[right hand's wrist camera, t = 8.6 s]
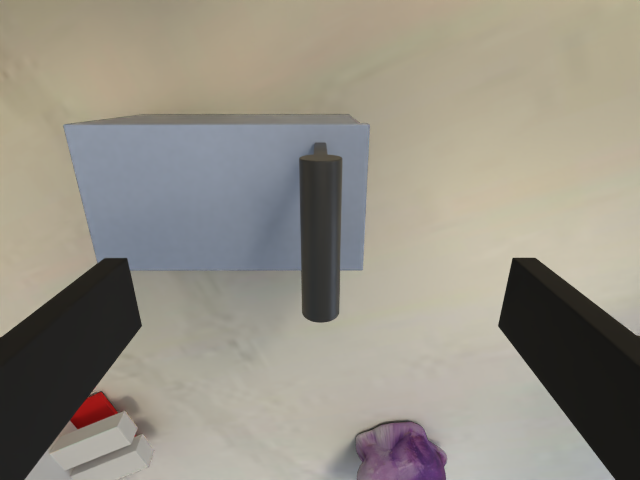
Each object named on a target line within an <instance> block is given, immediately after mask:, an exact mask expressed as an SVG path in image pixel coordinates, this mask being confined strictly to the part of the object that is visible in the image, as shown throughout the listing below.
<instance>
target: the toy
mask: <svg viewBox="0 0 640 480" xmlns="http://www.w3.org/2000/svg"><path fill="white" fill-rule="evenodd" d="M137 429H138V427H137V426H136V425H135V423H134V422H133V421H132V419H131V418H130V417H129V415H128V414H127V413H126V411H123V412H120V413H118V412H117V411H116V410H115V408H114V407H113V406H112V405H111V403H110V402H109V401H108V400H107V398H106V397H105V396H104V395H103V393H102V392H100V393H97V394H95V395H93V396H91V397H88V398H87V399H86V400H85V401H84V402H83V404H82V405H81V406H80V408H79V409H78V410H77V412H76V413H75V414H74V416H73V417H72V418H71V420H70V421H69V422H68V423H67V425H66V426H65V427H64V429H63V430H62V431H61V433H60V434H59V435H58V437H57V438H56V439H55V441H54V442H53V443H52V444H51V446H50V447H49V448H48V450H47V451H46V452H45V454H44V455H43V456H42V458H41V459H40V460H39V461H38V463H37V464H36V465H35V467H34V468H33V469H32V471H31V472H30V473H29V475H28V476H27V477H26V479H25V480H118V479H120V478H123V477H125V476H128V475H130V474H133V473H135V472H138V471H140V470H143V469H145V468H148V467H149V465H150V462H151V459H152V456H153V453H154V449H153V447H152V446H151V445H150V443H149V442H148V441H147V439H146V438H145V437H144V435H143V434H141V435H138V436H136V431H137Z"/></svg>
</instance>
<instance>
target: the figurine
mask: <svg viewBox="0 0 640 480" xmlns="http://www.w3.org/2000/svg"><path fill="white" fill-rule="evenodd" d="M356 451H357V454H358V456H359V458H360V459H361V461H362V462H363V463H362V464H361V465H360V468H359V470H358V473H357V480H446V475H445V470H444V466H445V464H446V463H447V455H446V453H445V452H444V451H443V450H442V449H441V448H439V447H438V446H436V445H435V444H433V443H431V442H430V441H428V440H427V436H426V433H425V431H424V429H423V428H422V427H421V426H420V425H418V424H416V423H414V422H400V423H389V424H384V425H383V424H382V425H381V426H378V427H376V428H374V429H373V430H370V431H366V432H363V433H361V434H359V435H357V437H356Z"/></svg>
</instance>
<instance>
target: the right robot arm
mask: <svg viewBox="0 0 640 480" xmlns="http://www.w3.org/2000/svg"><path fill="white" fill-rule="evenodd" d="M141 326H142V324H141V320H140V315H139V310H138V306H137V301H136V296H135V292H134V287H133V282H132V278H131V273H130V268H129V264H128V259H127V258H104V259H103V260H101V261H100V262H99V263H97V264H96V265H95V266H94V267H92V268H91V269H90V270H88V271H87V272H86V273H84V274H83V275H82V276H81V277H79V278H78V279H77V280H75V281H74V282H73V283H71V284H70V285H69V286H68V287H66V288H65V289H64V290H62V291H61V292H60V293H58V294H57V295H56V296H55V297H53V298H52V299H51V300H49V301H48V302H47V303H45V304H44V305H43V306H41V307H40V308H39V309H38V310H36V311H35V312H34V313H32V314H31V315H30V316H28V317H27V318H26V319H25V320H23V321H22V322H21V323H19V324H18V325H17V326H15V327H14V328H13V329H12V330H10V331H9V332H8V333H6V334H5V335H4V336H2V337H0V480H25V479H26V477H27V476H28V475H29V473H30V472H31V471H32V469H33V468H34V467H35V465H36V464H37V463H38V461H39V460H40V459H41V458H42V456H43V455H44V454H45V452H46V451H47V450H48V448H49V447H50V446H51V444H52V443H53V442H54V441H55V439H56V438H57V437H58V435H59V434H60V433H61V431H62V430H63V429H64V427H65V426H66V425H67V423H68V422H69V421H70V420H71V418H72V417H73V416H74V414H75V413H76V412H77V410H78V409H79V408H80V406H81V405H82V404H83V402H84V401H85V400H86V399H87V397H88V396H89V395H90V393H91V392H92V391H93V389H94V388H95V387H96V385H97V384H98V383H99V382H100V380H101V379H102V378H103V376H104V375H105V374H106V372H107V371H108V370H109V368H110V367H111V366H112V364H113V363H114V362H115V361H116V359H117V358H118V357H119V355H120V354H121V353H122V351H123V350H124V349H125V347H126V346H127V345H128V343H129V342H130V341H131V340H132V338H133V337H134V336H135V334H136V333H137V332H138V330H139V329H140V328H141ZM498 326H499V328H500V329H501V330H502V332H503V333H504V334H505V336H506V337H507V338H508V340H509V341H510V342H511V343H512V345H513V346H514V347H515V349H516V350H517V351H518V353H519V354H520V355H521V357H522V358H523V359H524V361H525V362H526V363H527V364H528V366H529V367H530V368H531V370H532V371H533V372H534V374H535V375H536V376H537V378H538V379H539V380H540V382H541V383H542V384H543V385H544V387H545V388H546V389H547V391H548V392H549V393H550V395H551V396H552V397H553V399H554V400H555V401H556V402H557V404H558V405H559V406H560V408H561V409H562V410H563V412H564V413H565V414H566V416H567V417H568V418H569V420H570V421H571V422H572V423H573V425H574V426H575V427H576V429H577V430H578V431H579V433H580V434H581V435H582V437H583V438H584V439H585V441H586V442H587V443H588V444H589V446H590V447H591V448H592V450H593V451H594V452H595V454H596V455H597V456H598V458H599V459H600V460H601V461H602V463H603V464H604V465H605V467H606V468H607V469H608V471H609V472H610V473H611V475H612V476H613V477H614V479H615V480H640V336H636V335H635V334H634V333H632V332H631V331H630V330H628V329H627V328H626V327H625V326H623V325H622V324H621V323H619V322H618V321H617V320H615V319H614V318H613V317H612V316H610V315H609V314H608V313H606V312H605V311H604V310H602V309H601V308H600V307H598V306H597V305H596V304H595V303H593V302H592V301H591V300H589V299H588V298H587V297H585V296H584V295H583V294H582V293H580V292H579V291H578V290H576V289H575V288H574V287H572V286H571V285H570V284H569V283H567V282H566V281H565V280H563V279H562V278H561V277H559V276H558V275H557V274H556V273H554V272H553V271H552V270H550V269H549V268H548V267H546V266H545V265H544V264H543V263H541V262H540V261H539V260H537V259H536V258H513V259H512V264H511V268H510V273H509V278H508V282H507V287H506V292H505V296H504V301H503V306H502V310H501V315H500V320H499V324H498Z"/></svg>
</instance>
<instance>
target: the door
mask: <svg viewBox="0 0 640 480" xmlns="http://www.w3.org/2000/svg"><path fill="white" fill-rule="evenodd" d="M63 126H64V130H65V134H66V139H67V143H68V147H69V151H70V155H71V159H72V163H73V167H74V171H75V175H76V179H77V183H78V187H79V191H80V195H81V199H82V203H83V207H84V211H85V215H86V219H87V223H88V227H89V231H90V235H91V239H92V243H93V247H94V251H95V255H96V259H97V263H99V262H100V261H101V260H103V259H104V258H127V259H128V264H129V268H130V270H301V279H302V313H303V316H304V317H305V318H306V319H308V320H310V321H313V322H328V321H331V320H333V319H335V318H336V317H337V316H338V314H339V294H340V270H363V255H364V234H365V214H366V193H367V172H368V151H369V131H370V125H369V124H367V123H71V124H64V125H63Z"/></svg>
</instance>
